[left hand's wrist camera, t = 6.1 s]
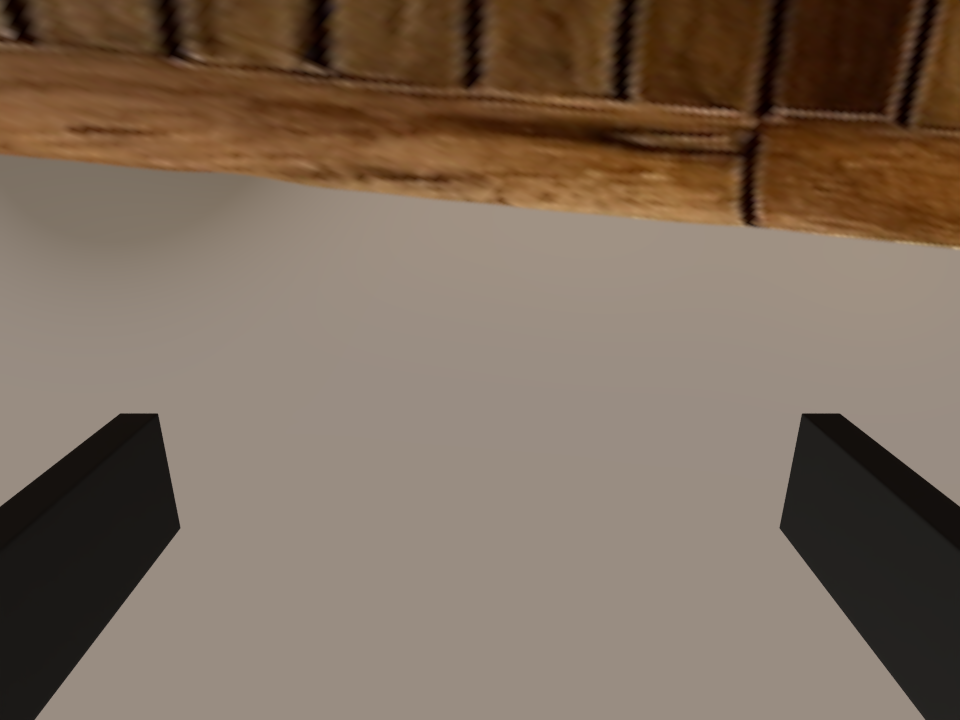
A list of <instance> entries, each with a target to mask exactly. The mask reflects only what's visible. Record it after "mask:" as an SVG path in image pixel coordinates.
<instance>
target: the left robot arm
mask: <svg viewBox="0 0 960 720" xmlns="http://www.w3.org/2000/svg"><path fill="white" fill-rule="evenodd" d="M179 529H180V523H179V518H178V513H177V508H176V503H175V498H174V493H173V488H172V483H171V478H170V473H169V467H168V462H167V457H166V452H165V447H164V442H163V437H162V432H161V427H160V422H159V417H158V414H119V415H118V416H117V417H115V418H114V419H113V420H111V421H110V422H109V423H108V424H106V425H105V426H104V427H102V428H101V429H100V430H98V431H97V432H96V433H95V434H93V435H92V436H91V437H89V438H88V439H87V440H86V441H84V442H83V443H82V444H80V445H79V446H78V447H77V448H75V449H74V450H73V451H71V452H70V453H69V454H68V455H66V456H65V457H64V458H62V459H61V460H60V461H59V462H57V463H56V464H55V465H53V466H52V467H51V468H50V469H48V470H47V471H46V472H44V473H43V474H42V475H41V476H39V477H38V478H37V479H35V480H34V481H33V482H32V483H30V484H29V485H28V486H26V487H25V488H24V489H23V490H21V491H20V492H19V493H17V494H16V495H15V496H13V497H12V498H11V499H10V500H8V501H7V502H6V503H4V504H3V505H2V506H1V507H0V720H35V718H36V717H37V716H38V714H39V713H40V712H41V710H42V709H43V708H44V707H45V705H46V704H47V703H48V701H49V700H50V699H51V697H52V696H53V695H54V693H55V692H56V691H57V689H58V688H59V687H60V686H61V684H62V683H63V682H64V680H65V679H66V678H67V676H68V675H69V674H70V672H71V671H72V670H73V668H74V667H75V666H76V665H77V663H78V662H79V661H80V659H81V658H82V657H83V655H84V654H85V653H86V651H87V650H88V649H89V647H90V646H91V645H92V643H93V642H94V641H95V640H96V638H97V637H98V636H99V634H100V633H101V632H102V630H103V629H104V628H105V626H106V625H107V624H108V623H109V621H110V620H111V619H112V617H113V616H114V615H115V613H116V612H117V611H118V609H119V608H120V607H121V605H122V604H123V603H124V602H125V600H126V599H127V598H128V596H129V595H130V594H131V592H132V591H133V590H134V588H135V587H136V586H137V584H138V583H139V582H140V580H141V579H142V578H143V577H144V575H145V574H146V573H147V571H148V570H149V569H150V567H151V566H152V565H153V563H154V562H155V561H156V559H157V558H158V557H159V556H160V554H161V553H162V552H163V550H164V549H165V548H166V546H167V545H168V544H169V542H170V541H171V540H172V538H173V537H174V536H175V535H176V533H177V532H178V530H179ZM780 529H781V531H782V532H783V533H784V535H785V536H786V537H787V538H788V540H789V541H790V542H791V544H792V545H793V546H794V548H795V549H796V550H797V552H798V553H799V554H800V556H801V557H802V558H803V559H804V561H805V562H806V563H807V565H808V566H809V567H810V569H811V570H812V571H813V573H814V574H815V575H816V576H817V578H818V579H819V580H820V582H821V583H822V584H823V586H824V587H825V588H826V590H827V591H828V592H829V594H830V595H831V596H832V598H833V599H834V600H835V601H836V603H837V604H838V605H839V607H840V608H841V609H842V611H843V612H844V613H845V615H846V616H847V617H848V619H849V620H850V621H851V623H852V624H853V625H854V626H855V628H856V629H857V630H858V632H859V633H860V634H861V636H862V637H863V638H864V640H865V641H866V642H867V644H868V645H869V646H870V647H871V649H872V650H873V651H874V653H875V654H876V655H877V657H878V658H879V659H880V661H881V662H882V663H883V665H884V666H885V667H886V668H887V670H888V671H889V672H890V674H891V675H892V676H893V678H894V679H895V680H896V682H897V683H898V684H899V685H900V687H901V688H902V690H903V691H904V692H905V693H906V695H907V696H908V697H909V699H910V700H911V701H912V703H913V704H914V705H915V707H916V708H917V709H918V711H919V712H920V713H921V714H922V716H923V717H924V718H925V720H960V507H959V506H958V505H957V504H956V503H954V502H953V501H952V500H950V499H949V498H948V497H947V496H945V495H944V494H943V493H941V492H940V491H939V490H938V489H936V488H935V487H934V486H932V485H931V484H930V483H929V482H927V481H926V480H925V479H923V478H922V477H921V476H920V475H918V474H917V473H916V472H914V471H913V470H912V469H910V468H909V467H908V466H907V465H905V464H904V463H903V462H901V461H900V460H899V459H898V458H896V457H895V456H894V455H892V454H891V453H890V452H889V451H887V450H886V449H885V448H883V447H882V446H881V445H879V444H878V443H877V442H876V441H874V440H873V439H872V438H871V437H869V436H868V435H867V434H865V433H864V432H863V431H861V430H860V429H859V428H858V427H856V426H855V425H854V424H852V423H851V422H850V421H849V420H847V419H846V418H845V417H843V416H842V415H841V414H802V417H801V422H800V427H799V432H798V437H797V442H796V447H795V452H794V457H793V462H792V467H791V473H790V478H789V483H788V488H787V493H786V498H785V503H784V508H783V513H782V518H781V523H780Z"/></svg>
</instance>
